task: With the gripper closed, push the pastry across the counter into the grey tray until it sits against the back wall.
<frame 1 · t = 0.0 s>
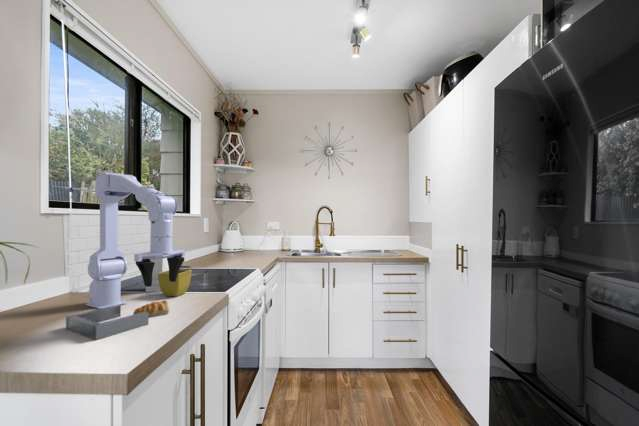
hand: (160, 283, 89), 10 cm above the counter, tool pointing down, fingers open, 7 cm apart
pastry: (154, 315, 93), on the counter
grey tray: (109, 326, 83), on the counter
flower pot: (174, 295, 117), on the counter
skincare box: (158, 290, 125), on the counter
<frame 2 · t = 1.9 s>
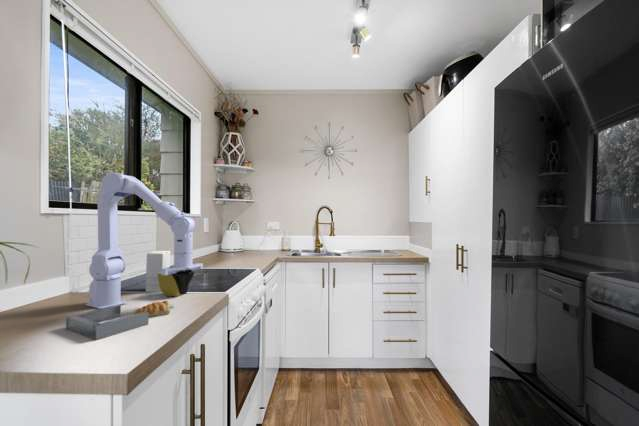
hand: (182, 293, 102), 4 cm above the counter, tool pointing down, fingers closed
nothing on the counter moved.
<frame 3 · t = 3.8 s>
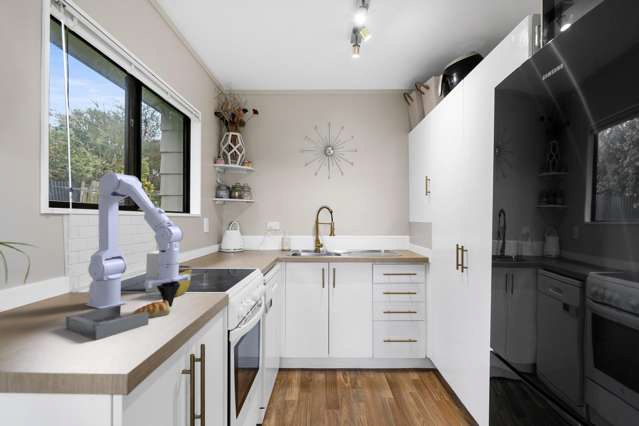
hand: (168, 306, 98), 1 cm above the counter, tool pointing down, fingers closed
pastry: (154, 315, 93), on the counter, touching gripper
everything else where it was.
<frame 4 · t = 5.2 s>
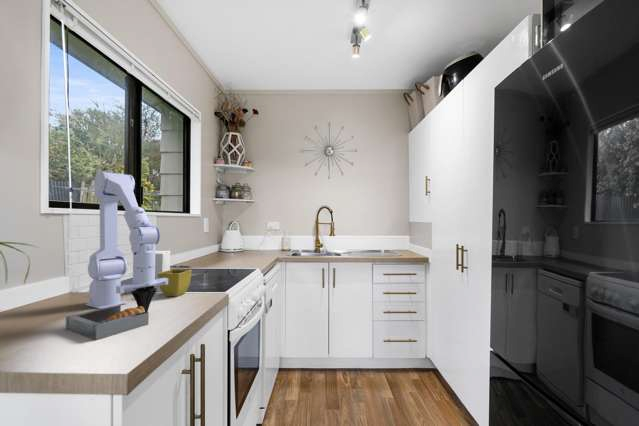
hand: (143, 313, 91), 1 cm above the counter, tool pointing down, fingers closed
pastry: (128, 323, 85), on the counter, touching gripper
everything else where it was.
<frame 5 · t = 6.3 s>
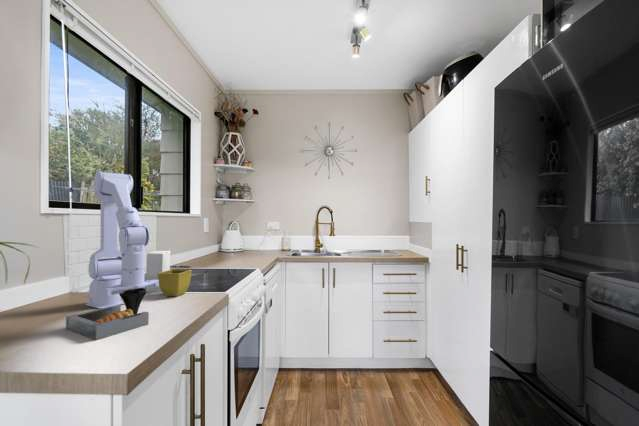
hand: (132, 316, 88), 1 cm above the counter, tool pointing down, fingers closed
pastry: (116, 326, 83), on the counter, touching gripper
everything else where it was.
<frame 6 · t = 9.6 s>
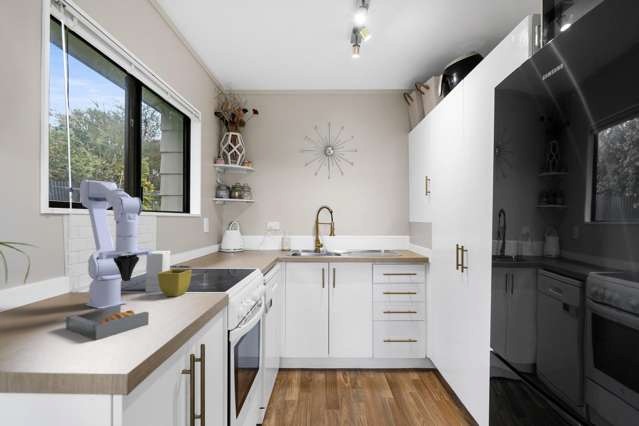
hand: (126, 280, 94), 10 cm above the counter, tool pointing down, fingers closed
pastry: (118, 328, 82), on the counter
everything else where it was.
at the end: pastry inside the target area (2.7 cm from its centre), on the counter; pastry moved 11.7 cm from its start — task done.
